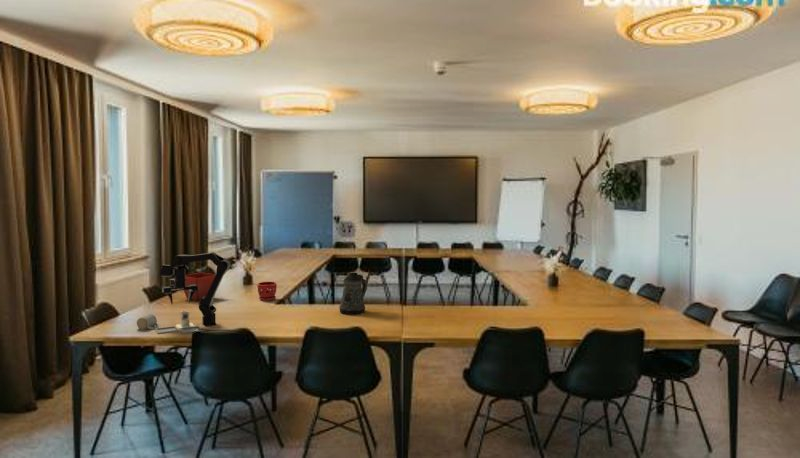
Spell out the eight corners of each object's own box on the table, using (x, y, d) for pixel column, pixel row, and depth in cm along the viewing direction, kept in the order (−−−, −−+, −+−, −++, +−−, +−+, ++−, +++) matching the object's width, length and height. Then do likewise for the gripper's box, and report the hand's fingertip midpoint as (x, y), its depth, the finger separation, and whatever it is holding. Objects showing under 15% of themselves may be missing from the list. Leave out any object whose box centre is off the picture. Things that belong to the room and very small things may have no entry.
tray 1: (175, 328, 303) (175, 326, 303) (178, 332, 295) (178, 330, 295) (155, 330, 298) (155, 328, 298) (158, 334, 289) (157, 332, 289)
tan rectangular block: (188, 324, 310) (187, 310, 309) (189, 325, 307) (189, 311, 306) (180, 325, 308) (180, 311, 307) (181, 326, 304) (181, 312, 304)
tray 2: (199, 328, 304) (198, 325, 304) (202, 332, 295) (202, 330, 295) (179, 330, 298) (179, 328, 298) (182, 334, 290) (182, 332, 290)
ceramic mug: (135, 330, 299) (135, 316, 298) (145, 326, 307) (145, 313, 306) (152, 331, 297) (151, 317, 296) (162, 327, 305) (161, 314, 304)
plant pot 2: (257, 298, 386) (256, 281, 385) (275, 297, 390) (275, 281, 389) (258, 302, 373) (257, 285, 373) (277, 301, 377) (277, 284, 376)
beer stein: (335, 314, 338) (335, 274, 336) (345, 307, 357) (345, 270, 355) (360, 315, 334) (360, 276, 332) (369, 309, 353) (369, 271, 351)
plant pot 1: (219, 297, 388) (219, 274, 387) (197, 302, 372) (196, 278, 370) (202, 294, 398) (201, 272, 397) (179, 299, 382) (179, 275, 381)
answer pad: (191, 323, 313) (191, 322, 313) (194, 327, 306) (194, 326, 306) (175, 325, 309) (175, 324, 309) (177, 329, 301) (177, 328, 301)
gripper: (193, 273, 321) (194, 299, 323) (160, 275, 311) (160, 302, 312) (198, 276, 312) (198, 302, 313) (163, 278, 302) (164, 306, 303)
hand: (180, 303), depth 311 cm, fingers open, 9 cm apart
